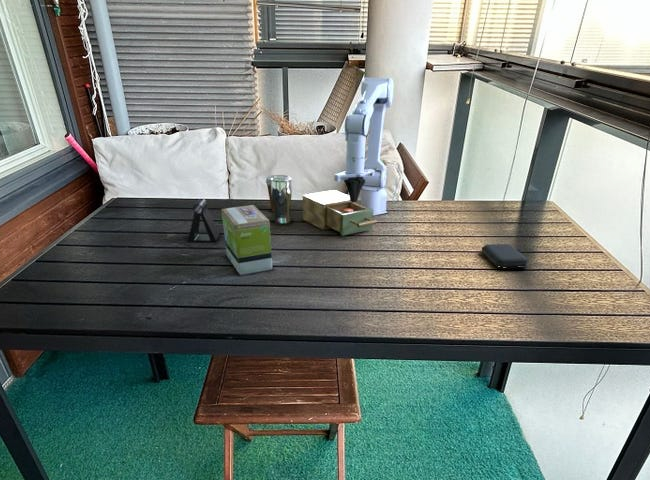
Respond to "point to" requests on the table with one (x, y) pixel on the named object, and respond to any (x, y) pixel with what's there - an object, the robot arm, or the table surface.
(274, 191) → the beer glass
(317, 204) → the cabinet
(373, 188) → the robot arm
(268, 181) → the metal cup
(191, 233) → the phone stand
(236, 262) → the tea box
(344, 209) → the small jar with lid
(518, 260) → the carrying case
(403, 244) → the table surface
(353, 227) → the drawer
